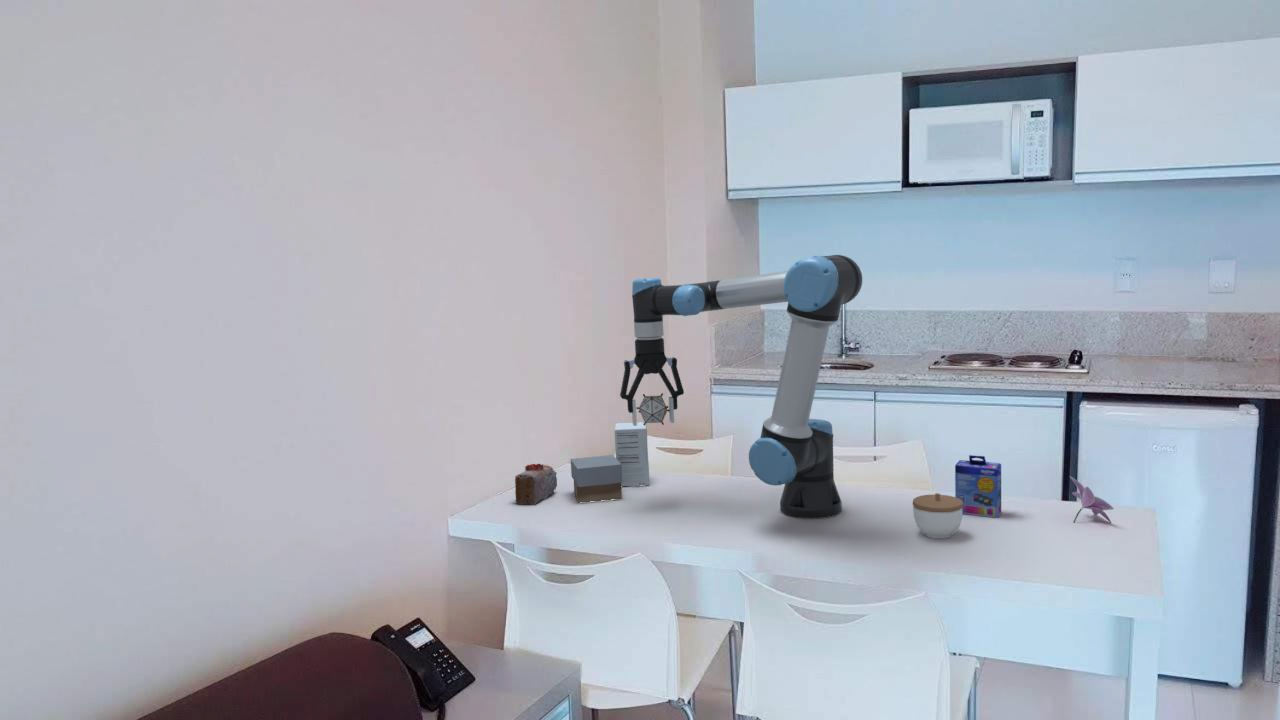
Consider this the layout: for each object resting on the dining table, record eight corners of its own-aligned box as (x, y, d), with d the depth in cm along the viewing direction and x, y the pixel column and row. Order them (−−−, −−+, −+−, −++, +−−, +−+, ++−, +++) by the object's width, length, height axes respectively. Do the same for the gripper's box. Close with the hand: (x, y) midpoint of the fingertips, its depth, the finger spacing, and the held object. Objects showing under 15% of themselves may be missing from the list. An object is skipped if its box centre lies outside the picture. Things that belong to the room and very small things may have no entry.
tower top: (622, 482, 246) (621, 464, 245) (578, 487, 243) (577, 468, 242) (613, 472, 257) (612, 454, 257) (571, 476, 255) (570, 458, 254)
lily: (1112, 536, 201) (1129, 496, 202) (1059, 513, 204) (1075, 474, 205) (1098, 536, 212) (1114, 498, 213) (1048, 514, 216) (1063, 477, 216)
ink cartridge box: (954, 514, 219) (953, 455, 217) (959, 507, 224) (958, 450, 222) (997, 518, 214) (997, 458, 212) (1001, 512, 219) (1001, 453, 217)
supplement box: (618, 479, 268) (615, 422, 266) (649, 477, 268) (646, 421, 265) (617, 487, 258) (614, 429, 256) (649, 486, 258) (646, 427, 256)
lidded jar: (909, 527, 211) (908, 487, 210) (957, 526, 209) (956, 486, 208) (918, 542, 200) (917, 500, 199) (968, 541, 199) (968, 500, 198)
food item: (533, 491, 259) (531, 457, 258) (559, 492, 257) (557, 458, 255) (513, 505, 246) (510, 469, 245) (540, 506, 244) (537, 470, 242)
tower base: (622, 501, 246) (621, 483, 245) (577, 504, 244) (576, 486, 243) (616, 489, 258) (615, 472, 257) (574, 493, 256) (573, 476, 255)
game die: (659, 436, 240) (678, 404, 241) (656, 431, 232) (676, 398, 233) (630, 420, 242) (650, 388, 243) (626, 414, 234) (646, 381, 235)
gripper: (688, 334, 240) (691, 417, 243) (605, 339, 238) (610, 423, 240) (693, 336, 233) (697, 422, 236) (608, 342, 230) (613, 429, 233)
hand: (653, 423), depth 238 cm, fingers closed on game die, 9 cm apart
